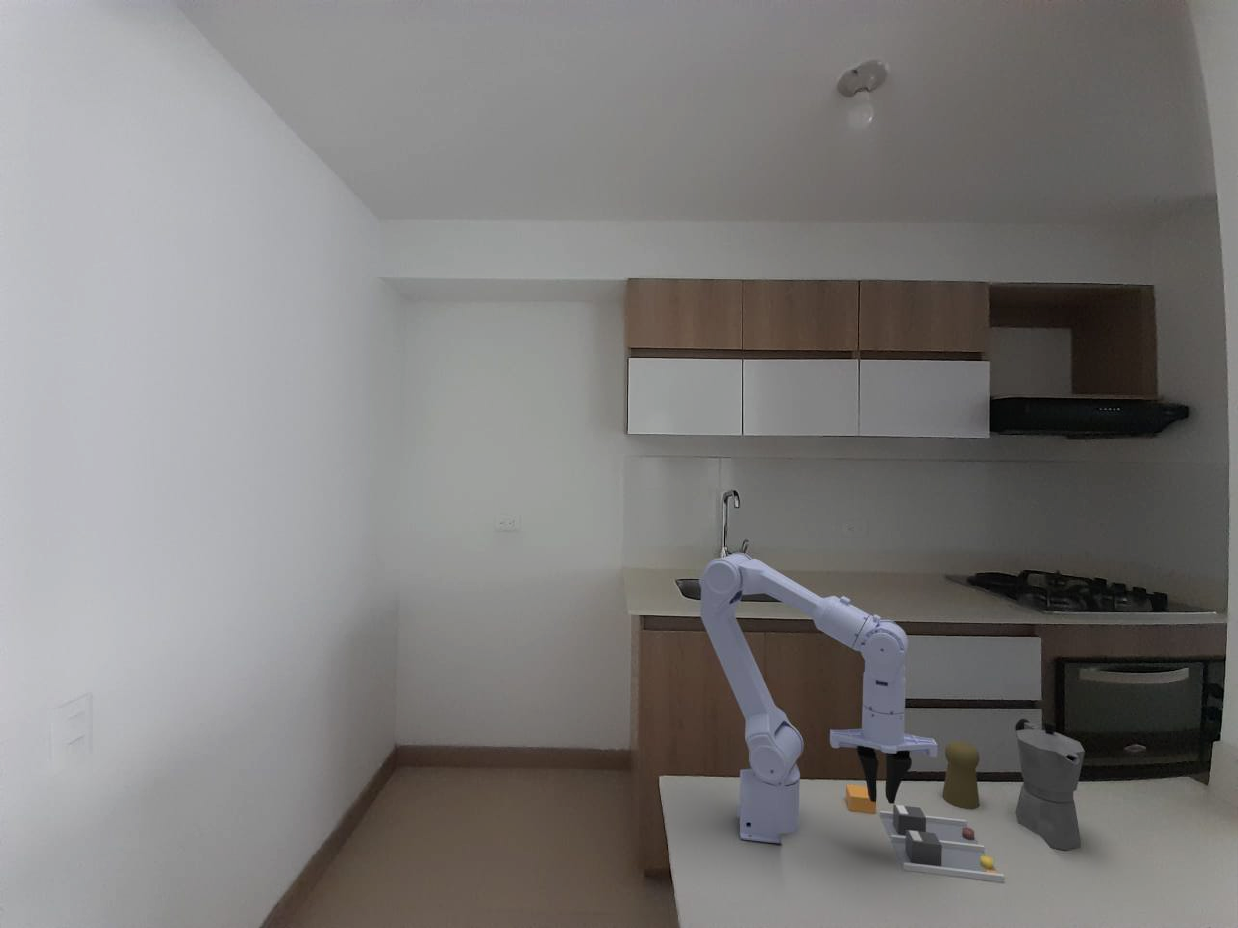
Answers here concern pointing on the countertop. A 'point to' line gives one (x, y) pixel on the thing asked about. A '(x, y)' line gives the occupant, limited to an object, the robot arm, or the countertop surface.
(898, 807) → the toggle
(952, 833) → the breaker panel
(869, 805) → the block
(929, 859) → the toggle
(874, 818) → the countertop surface
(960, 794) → the cork
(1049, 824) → the coffeepot
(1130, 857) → the countertop surface
